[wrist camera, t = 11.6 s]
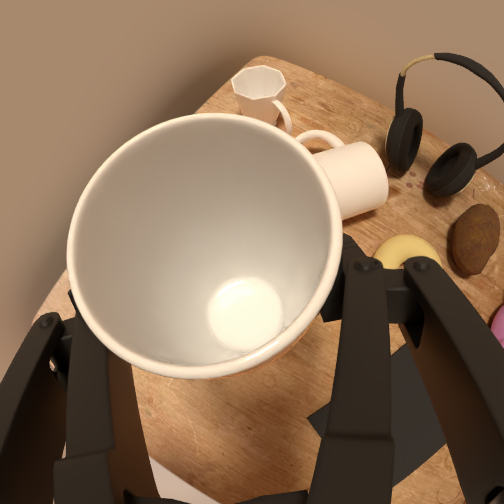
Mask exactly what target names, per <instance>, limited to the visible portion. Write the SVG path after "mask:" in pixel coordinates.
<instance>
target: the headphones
mask: <svg viewBox="0 0 504 504" xmlns="http://www.w3.org/2000/svg"><path fill="white" fill-rule="evenodd" d="M429 59H436V60H444V61H448V62H452V63H454V64H457V65H460V66H463V67H465V68H466V69H468V70H470V71H471V72H473V73H474V74H476V75H477V76H478V77H480V78H482V79H483V80H485V81H486V82H487V83H488V84H490V85H491V86H492V88H493V89H494V90H495V91H496V92H497V93H498V94H499V95H500V97H501V98H502V100H503V102H504V88H503V87H502V85H501V84H500V83H499V81H498V80H497V79H496V78H495V77H494V75H493V74H492V73H491V72H490V71H488V70H487V69H486V68H485V67H483V66H482V65H481V64H479V63H477V62H475V61H474V60H472V59H470V58H468V57H464V56H461V55H457V54H451V53H434V54H433V55H427V56H423V57H419V58H417V59H414V60H412V61H411V62H409V63H408V64H407V65H406V66H405V67H404V68H403V70H402V71H401V73H400V74H399V77H398V81H397V86H396V99H395V108H396V109H395V116H394V117H393V119H392V121H391V123H390V126H389V129H388V132H387V136H386V142H385V153H386V156H387V158H388V161H389V163H390V164H391V166H392V167H393V168H394V169H396V170H399V171H406V170H408V169H409V168H410V167H411V165H412V163H413V161H414V159H415V157H416V155H417V152H418V149H419V145H420V141H421V136H422V129H423V119H422V116H421V114H420V112H418V111H417V110H415V109H412V108H406V109H404V102H403V87H404V82H405V76H406V75H405V74H406V71H407V70H408V69H409V68H410V67H411V66H412V65H414V64H416V63H418V62H420V61H423V60H429ZM503 153H504V143H503V144H502V145H501V146H500V147H499V148H497V149H496V150H494V151H493V152H491V153H489V154H487V155H484V156H482V157H480V158H478V159H477V154H476V152H475V150H474V149H473V148H472V147H471V146H470V145H469V144H467V143H458V144H455V145H453V146H452V147H450V148H449V149H448V150H446V151H445V152H444V153H443V154H442V155H441V156H440V157H439V158H438V159H437V161H436V162H435V163H434V165H433V166H432V168H431V169H430V171H429V173H428V176H427V187H428V189H429V191H430V192H431V193H432V194H433V195H435V196H437V197H448V196H449V197H450V196H454V195H456V194H458V193H459V192H461V191H462V190H463V189H465V188H466V187H467V186H468V184H469V183H470V182H471V180H472V179H473V177H474V175H475V173H476V170H477V169H479V168H481V167H483V166H484V165H486V164H488V163H490V162H492V161H493V160H495V159H496V158H498V157H500V156H501V155H502V154H503Z"/></svg>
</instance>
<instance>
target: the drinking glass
mask: <svg viewBox="0 0 504 504" xmlns="http://www.w3.org/2000/svg"><path fill="white" fill-rule="evenodd" d="M342 246H343V227H342V217H341V212H340V207H339V203H338V199H337V196H336V193H335V190H334V188H333V186H332V184H331V182H330V179H329V178H328V176H327V174H326V172H325V171H324V169H323V168H322V166H321V165H320V164H319V162H318V161H317V159H316V158H315V157H314V156H313V155H312V154H311V153H310V152H309V150H308V149H307V148H305V147H304V146H303V145H302V144H301V143H300V142H299V141H297V140H296V139H295V138H293V137H292V136H291V135H289V134H288V133H286V132H284V131H283V130H281V129H279V128H277V127H275V126H273V125H271V124H269V123H266V122H263V121H261V120H258V119H255V118H251V117H247V116H242V115H237V114H228V113H202V114H194V115H188V116H183V117H179V118H175V119H172V120H169V121H166V122H163V123H161V124H158V125H156V126H154V127H151V128H149V129H147V130H145V131H144V132H142V133H140V134H138V135H137V136H135V137H133V138H132V139H130V140H129V141H128V142H126V143H125V144H124V145H122V146H121V147H120V148H119V149H117V150H116V151H115V152H114V153H113V154H112V155H111V156H110V157H109V158H108V159H107V160H106V161H105V162H104V163H103V164H102V165H101V167H100V168H99V169H98V170H97V172H96V173H95V174H94V176H93V177H92V178H91V180H90V181H89V183H88V184H87V186H86V188H85V189H84V191H83V193H82V195H81V197H80V199H79V201H78V204H77V206H76V209H75V211H74V214H73V217H72V221H71V225H70V229H69V234H68V241H67V272H68V278H69V283H70V287H71V291H72V295H73V297H74V300H75V303H76V305H77V307H78V309H79V311H80V313H81V315H82V317H83V319H84V320H85V322H86V323H87V325H88V327H89V328H90V329H91V331H92V332H93V333H94V334H95V336H96V337H97V338H98V339H99V340H100V341H101V342H102V343H103V344H104V345H105V346H106V347H107V348H108V349H109V350H111V351H112V352H113V353H115V354H116V355H117V356H118V357H120V358H122V359H123V360H125V361H127V362H128V363H130V364H132V365H134V366H136V367H138V368H140V369H142V370H145V371H148V372H151V373H154V374H157V375H161V376H165V377H170V378H177V379H188V380H195V379H222V378H229V377H235V376H239V375H243V374H247V373H250V372H252V371H255V370H258V369H260V368H262V367H264V366H266V365H268V364H270V363H272V362H274V361H275V360H277V359H278V358H280V357H281V356H283V355H284V354H285V353H287V352H288V351H289V350H290V349H291V348H292V347H293V346H294V345H295V344H296V343H297V342H298V341H299V340H300V339H301V338H302V337H303V336H304V335H305V333H306V332H307V331H308V330H309V328H310V327H311V325H312V324H313V322H314V321H315V319H316V318H317V316H318V315H319V313H320V311H321V309H322V307H323V305H324V303H325V301H326V299H327V297H328V295H329V293H330V291H331V289H332V287H333V284H334V281H335V279H336V276H337V272H338V269H339V264H340V260H341V253H342Z"/></svg>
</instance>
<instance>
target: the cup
mask: <svg viewBox="0 0 504 504" xmlns="http://www.w3.org/2000/svg"><path fill="white" fill-rule="evenodd" d="M231 82H232V86H233V89H234V93H235V96H236V99H237V101H238V104H239V107H240V109H241V112H242V115H243V116H247V117H251V118H255V119H258V120H261V121H263V122H266V123H269V124H271V125H273V126H275V125H276V124H277V122H276V119H277V118H278V115H279V113H281V115H282V117H283V119H284V122H285V127H286V133H288V134H289V135H291V134H292V124H291V118H290V116H289V114H288V111H287V110H286V108H285V107H284V106H283V105H282V103H283V98H284V94H285V90H286V85H287V83H286V81H285V79H284V77H283V74H282V72H281V71H279V70H276V69H273V68H270V67H267V66H265V65H261V66H254V67H248V68H243V69H242V70H241V71H240V72H239V73H237V74H236V75H235V76H234V77H233V78H232V79H231Z"/></svg>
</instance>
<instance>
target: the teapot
mask: <svg viewBox="0 0 504 504" xmlns="http://www.w3.org/2000/svg"><path fill="white" fill-rule="evenodd" d="M490 330H491V331H492V332H493V334H494V335H495V337H496V338H497V339H498V341H499V342H500V344H501V345H502V347H503V348H504V305H503V306H502V307H501V308H500V310H499V311H498V312H497V314H496V316H495V318H494V320H493V323H492V326H491V329H490Z"/></svg>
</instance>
